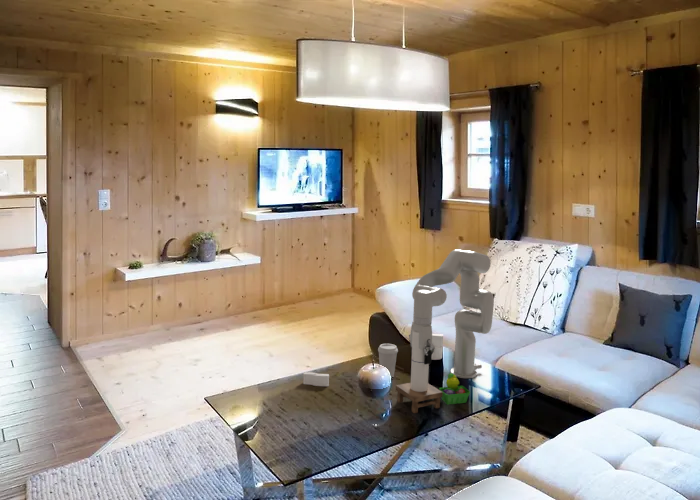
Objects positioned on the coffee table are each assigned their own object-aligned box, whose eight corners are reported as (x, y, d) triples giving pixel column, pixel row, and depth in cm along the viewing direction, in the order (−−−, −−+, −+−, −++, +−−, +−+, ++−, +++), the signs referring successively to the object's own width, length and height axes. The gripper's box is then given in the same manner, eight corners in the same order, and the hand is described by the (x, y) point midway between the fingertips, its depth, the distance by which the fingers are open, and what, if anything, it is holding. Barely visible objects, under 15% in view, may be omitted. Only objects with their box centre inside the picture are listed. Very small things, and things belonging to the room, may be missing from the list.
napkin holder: (336, 385, 259) (336, 373, 258) (318, 393, 250) (318, 380, 249) (312, 377, 268) (312, 365, 267) (294, 383, 260) (295, 371, 259)
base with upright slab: (424, 358, 296) (425, 336, 294) (425, 353, 304) (426, 331, 302) (442, 360, 294) (443, 338, 292) (442, 354, 303) (443, 332, 301)
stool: (422, 395, 249) (423, 380, 248) (441, 408, 237) (442, 392, 236) (395, 400, 243) (395, 385, 242) (413, 414, 231) (414, 397, 230)
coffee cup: (397, 373, 274) (398, 343, 272) (396, 381, 265) (398, 350, 262) (377, 372, 275) (378, 342, 273) (376, 379, 266) (377, 348, 263)
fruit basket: (445, 406, 239) (447, 380, 237) (436, 397, 248) (438, 372, 246) (470, 403, 242) (471, 378, 240) (460, 395, 251) (462, 371, 249)
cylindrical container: (412, 391, 235) (414, 333, 232) (409, 385, 242) (411, 328, 239) (429, 391, 236) (431, 333, 232) (425, 384, 243) (427, 328, 239)
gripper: (403, 315, 240) (401, 354, 243) (427, 327, 225) (425, 368, 228) (418, 313, 244) (416, 351, 247) (442, 324, 229) (440, 365, 231)
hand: (420, 359), depth 237 cm, fingers open, 9 cm apart
